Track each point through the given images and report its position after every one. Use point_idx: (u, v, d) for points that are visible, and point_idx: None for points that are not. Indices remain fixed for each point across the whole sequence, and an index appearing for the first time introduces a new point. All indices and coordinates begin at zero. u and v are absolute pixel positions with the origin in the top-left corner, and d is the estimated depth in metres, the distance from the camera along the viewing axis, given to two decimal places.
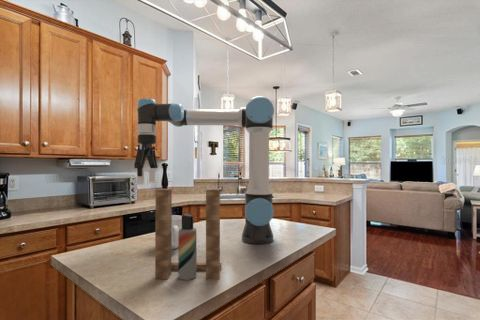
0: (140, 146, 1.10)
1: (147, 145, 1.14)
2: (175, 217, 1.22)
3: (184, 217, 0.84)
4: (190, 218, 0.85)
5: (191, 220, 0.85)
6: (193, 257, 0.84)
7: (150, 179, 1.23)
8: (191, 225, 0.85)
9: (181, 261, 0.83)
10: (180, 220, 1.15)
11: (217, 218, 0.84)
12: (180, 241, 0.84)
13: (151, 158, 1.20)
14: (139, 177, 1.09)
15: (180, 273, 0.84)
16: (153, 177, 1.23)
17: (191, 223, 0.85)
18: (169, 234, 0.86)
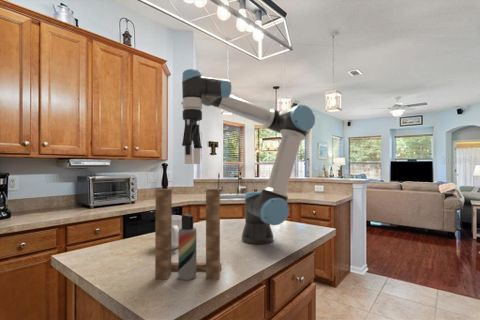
0: (187, 121, 0.98)
1: (193, 121, 1.03)
2: (175, 217, 1.22)
3: (184, 217, 0.84)
4: (190, 218, 0.85)
5: (191, 220, 0.85)
6: (193, 257, 0.84)
7: (194, 160, 1.11)
8: (191, 225, 0.85)
9: (181, 261, 0.83)
10: (180, 220, 1.15)
11: (217, 218, 0.84)
12: (180, 241, 0.84)
13: (196, 137, 1.09)
14: (187, 156, 0.98)
15: (180, 273, 0.84)
16: (198, 158, 1.11)
17: (191, 223, 0.85)
18: (169, 234, 0.86)
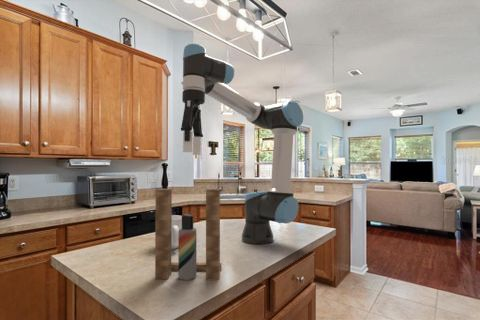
0: (188, 102, 0.84)
1: (195, 104, 0.89)
2: (175, 217, 1.22)
3: (184, 217, 0.84)
4: (190, 218, 0.85)
5: (191, 220, 0.85)
6: (193, 257, 0.84)
7: (194, 150, 0.97)
8: (191, 225, 0.85)
9: (181, 261, 0.83)
10: (180, 220, 1.15)
11: (217, 218, 0.84)
12: (180, 241, 0.84)
13: (197, 123, 0.94)
14: (186, 143, 0.83)
15: (180, 273, 0.84)
16: (198, 148, 0.97)
17: (191, 223, 0.85)
18: (169, 234, 0.86)
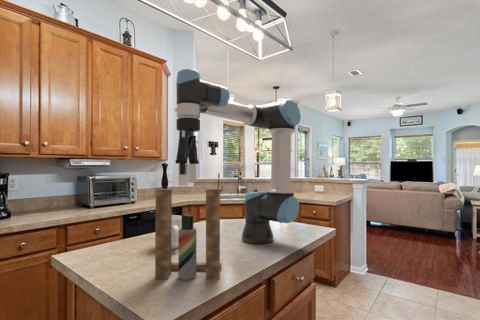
0: (183, 133, 0.80)
1: (190, 132, 0.84)
2: (175, 217, 1.22)
3: (184, 217, 0.84)
4: (190, 218, 0.85)
5: (191, 220, 0.85)
6: (193, 257, 0.84)
7: (190, 178, 0.93)
8: (191, 225, 0.85)
9: (181, 261, 0.83)
10: (180, 220, 1.15)
11: (217, 218, 0.84)
12: (180, 241, 0.84)
13: (192, 151, 0.90)
14: (181, 176, 0.79)
15: (180, 273, 0.84)
16: (194, 176, 0.93)
17: (191, 223, 0.85)
18: (169, 234, 0.86)
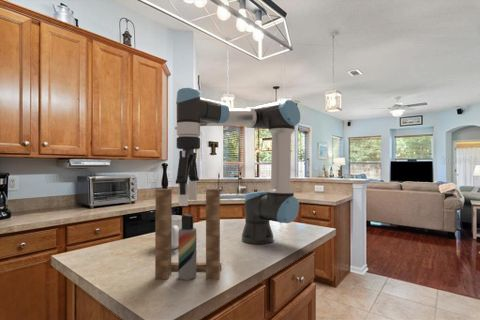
0: (183, 153, 0.80)
1: (190, 151, 0.84)
2: (175, 217, 1.22)
3: (184, 217, 0.84)
4: (190, 218, 0.85)
5: (191, 220, 0.85)
6: (193, 257, 0.84)
7: (190, 196, 0.93)
8: (191, 225, 0.85)
9: (181, 261, 0.83)
10: (180, 220, 1.15)
11: (217, 218, 0.84)
12: (180, 241, 0.84)
13: (192, 168, 0.90)
14: (182, 196, 0.79)
15: (180, 273, 0.84)
16: (194, 193, 0.93)
17: (191, 223, 0.85)
18: (169, 234, 0.86)
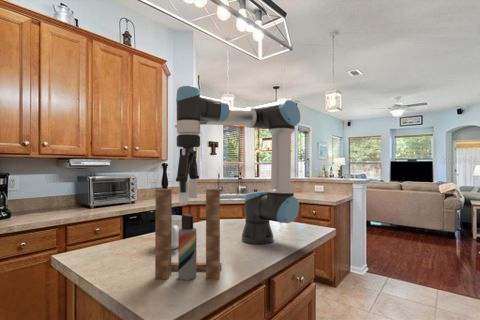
0: (183, 151, 0.80)
1: (190, 149, 0.84)
2: (175, 217, 1.22)
3: (184, 217, 0.84)
4: (190, 218, 0.85)
5: (191, 220, 0.85)
6: (193, 257, 0.84)
7: (190, 194, 0.93)
8: (191, 225, 0.85)
9: (181, 261, 0.83)
10: (180, 220, 1.15)
11: (217, 218, 0.84)
12: (180, 241, 0.84)
13: (192, 166, 0.90)
14: (182, 194, 0.79)
15: (180, 273, 0.84)
16: (194, 191, 0.93)
17: (191, 223, 0.85)
18: (169, 234, 0.86)
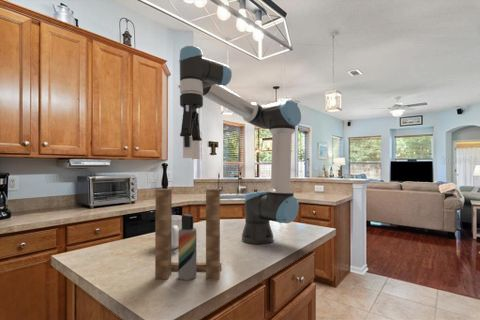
0: (187, 107, 0.82)
1: (193, 108, 0.87)
2: (175, 217, 1.22)
3: (184, 217, 0.84)
4: (190, 218, 0.85)
5: (191, 220, 0.85)
6: (193, 257, 0.84)
7: (193, 155, 0.95)
8: (191, 225, 0.85)
9: (181, 261, 0.83)
10: (180, 220, 1.15)
11: (217, 218, 0.84)
12: (180, 241, 0.84)
13: (195, 127, 0.93)
14: (186, 148, 0.81)
15: (180, 273, 0.84)
16: (197, 152, 0.95)
17: (191, 223, 0.85)
18: (169, 234, 0.86)
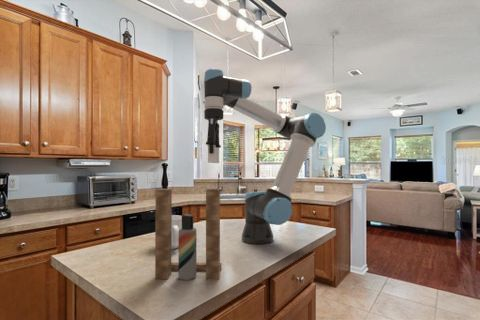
0: (211, 120, 0.99)
1: (216, 120, 1.04)
2: (175, 217, 1.22)
3: (184, 217, 0.84)
4: (190, 218, 0.85)
5: (191, 220, 0.85)
6: (193, 257, 0.84)
7: None
8: (191, 225, 0.85)
9: (181, 261, 0.83)
10: (180, 220, 1.15)
11: (217, 218, 0.84)
12: (180, 241, 0.84)
13: (216, 136, 1.09)
14: (210, 154, 0.98)
15: (180, 273, 0.84)
16: (217, 157, 1.12)
17: (191, 223, 0.85)
18: (169, 234, 0.86)
